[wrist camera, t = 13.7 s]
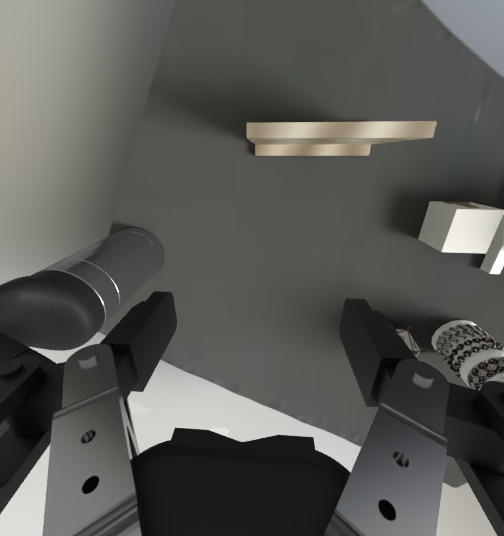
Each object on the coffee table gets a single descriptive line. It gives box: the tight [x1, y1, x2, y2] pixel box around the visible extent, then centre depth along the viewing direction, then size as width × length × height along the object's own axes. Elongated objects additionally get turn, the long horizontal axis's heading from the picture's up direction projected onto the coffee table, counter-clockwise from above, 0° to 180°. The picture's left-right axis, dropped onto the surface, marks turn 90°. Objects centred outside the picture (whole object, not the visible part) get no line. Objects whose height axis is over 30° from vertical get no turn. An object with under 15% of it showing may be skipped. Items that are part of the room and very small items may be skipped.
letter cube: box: [418, 201, 504, 254], centre depth 35 cm, size 6×6×6 cm
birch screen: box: [247, 121, 437, 156], centre depth 28 cm, size 16×4×15 cm, turn 90°
